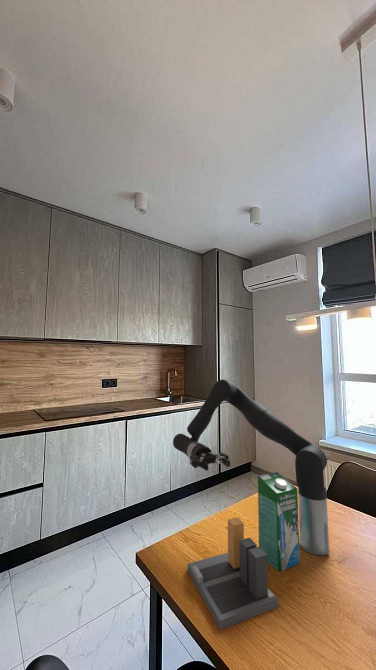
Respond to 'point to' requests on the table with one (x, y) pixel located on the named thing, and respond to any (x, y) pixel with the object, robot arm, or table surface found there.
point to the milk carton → (278, 521)
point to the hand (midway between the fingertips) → (218, 465)
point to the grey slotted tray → (234, 585)
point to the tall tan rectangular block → (234, 541)
